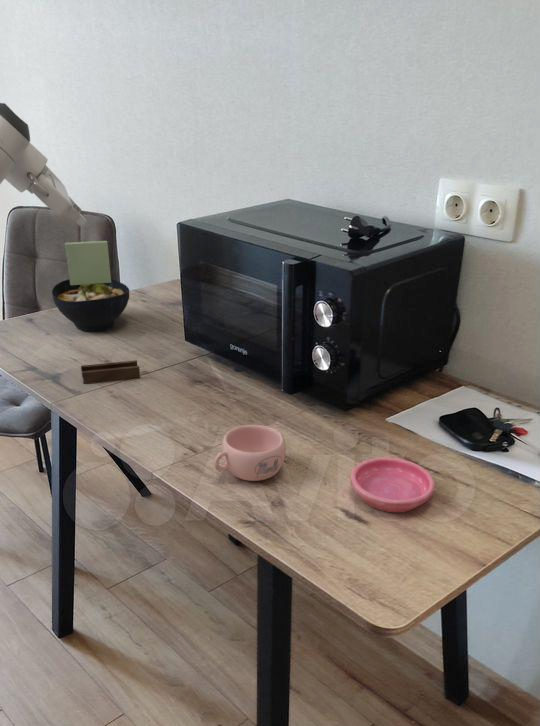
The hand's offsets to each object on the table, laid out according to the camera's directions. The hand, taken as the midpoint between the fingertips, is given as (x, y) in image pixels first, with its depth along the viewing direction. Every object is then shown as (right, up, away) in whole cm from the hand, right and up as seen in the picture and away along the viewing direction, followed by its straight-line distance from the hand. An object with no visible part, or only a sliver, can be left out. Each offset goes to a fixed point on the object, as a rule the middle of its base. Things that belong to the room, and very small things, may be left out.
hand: (81, 218), depth 151 cm
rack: (+9, -36, -11) cm, 39 cm away
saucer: (+59, -59, -44) cm, 94 cm away
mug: (+37, -55, -40) cm, 78 cm away
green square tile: (0, -12, +7) cm, 14 cm away
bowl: (0, -21, +13) cm, 24 cm away
